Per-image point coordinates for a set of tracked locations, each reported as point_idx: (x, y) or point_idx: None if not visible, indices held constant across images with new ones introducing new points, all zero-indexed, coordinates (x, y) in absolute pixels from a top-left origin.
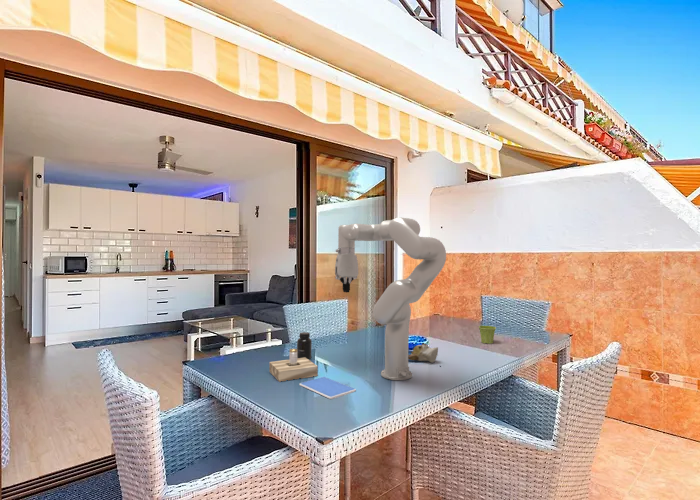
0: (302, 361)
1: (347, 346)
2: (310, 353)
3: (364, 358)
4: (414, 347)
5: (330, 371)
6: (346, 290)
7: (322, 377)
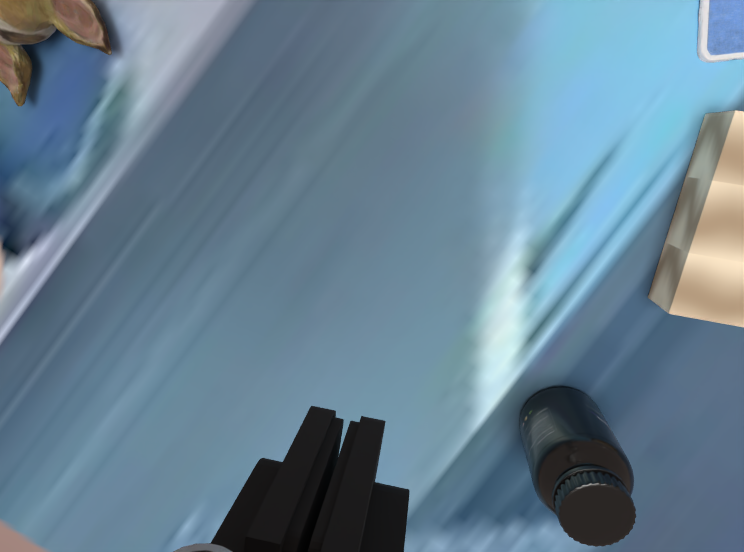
0: (741, 251)
1: (228, 462)
2: (547, 403)
3: (285, 228)
4: (7, 17)
5: (592, 141)
6: (376, 439)
7: (723, 49)
